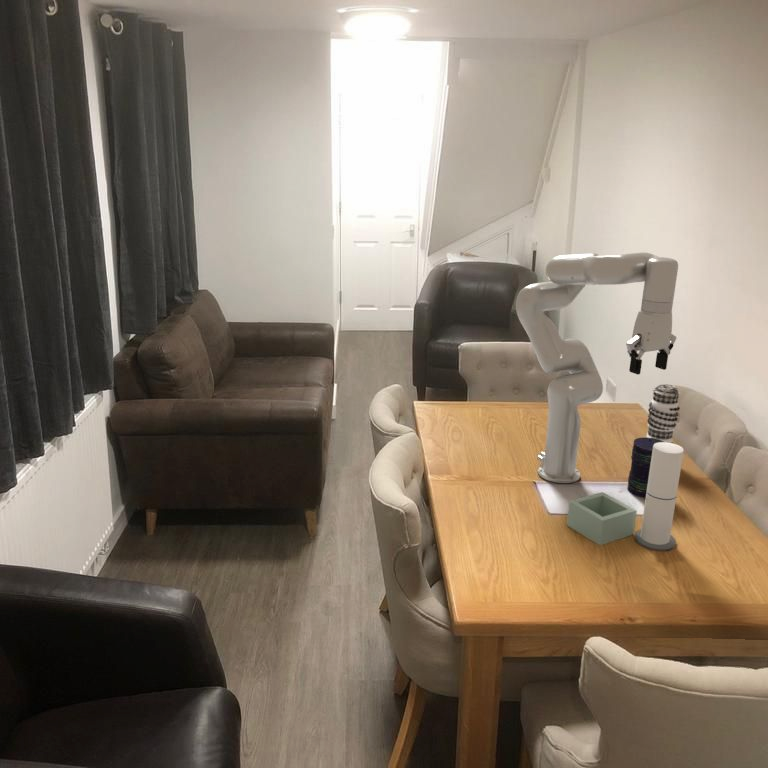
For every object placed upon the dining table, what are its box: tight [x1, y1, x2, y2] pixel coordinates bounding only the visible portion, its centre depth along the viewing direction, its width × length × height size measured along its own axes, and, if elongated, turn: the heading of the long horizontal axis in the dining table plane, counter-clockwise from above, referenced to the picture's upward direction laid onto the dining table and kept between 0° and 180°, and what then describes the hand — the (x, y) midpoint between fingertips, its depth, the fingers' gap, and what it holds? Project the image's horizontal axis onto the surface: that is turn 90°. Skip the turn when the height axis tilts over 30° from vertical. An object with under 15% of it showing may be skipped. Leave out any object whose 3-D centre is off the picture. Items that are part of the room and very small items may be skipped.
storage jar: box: [626, 437, 664, 499], centre depth 227 cm, size 10×10×15 cm
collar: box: [566, 491, 637, 546], centre depth 205 cm, size 12×12×7 cm
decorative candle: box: [645, 383, 681, 444], centre depth 247 cm, size 9×9×25 cm
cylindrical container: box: [640, 442, 685, 545], centre depth 197 cm, size 7×7×25 cm
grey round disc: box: [634, 529, 677, 552], centre depth 201 cm, size 10×10×1 cm
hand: (647, 370), depth 205 cm, fingers open, 9 cm apart
